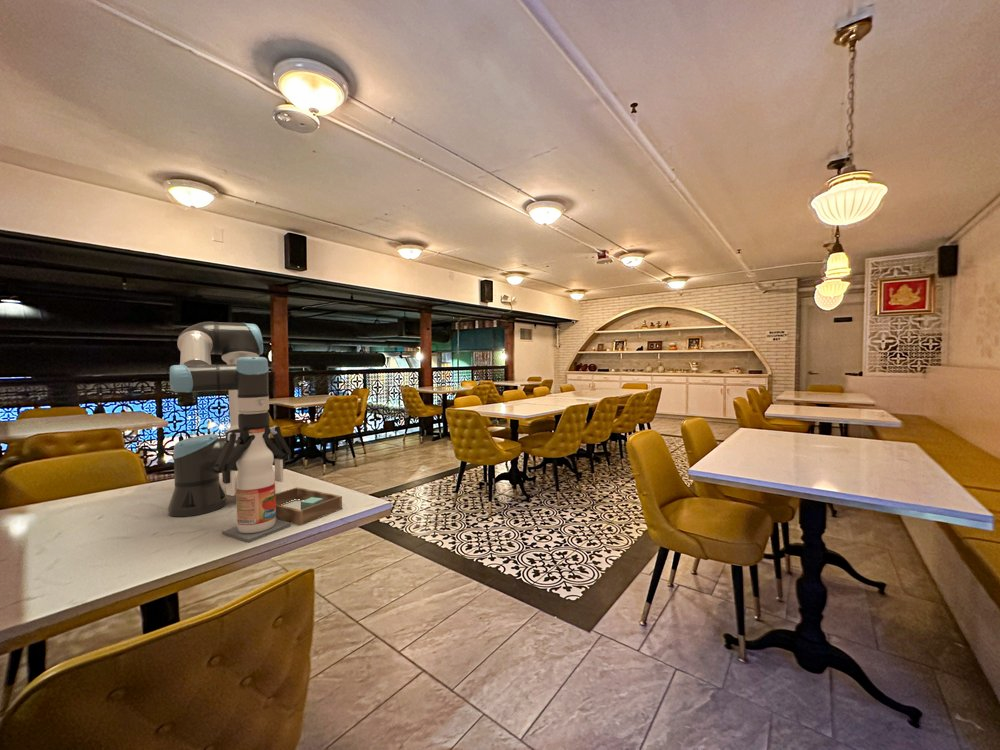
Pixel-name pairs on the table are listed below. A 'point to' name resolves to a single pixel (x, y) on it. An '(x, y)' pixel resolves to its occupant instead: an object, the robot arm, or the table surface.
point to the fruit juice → (255, 486)
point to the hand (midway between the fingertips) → (256, 487)
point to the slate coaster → (254, 536)
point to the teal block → (310, 502)
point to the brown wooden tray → (309, 513)
